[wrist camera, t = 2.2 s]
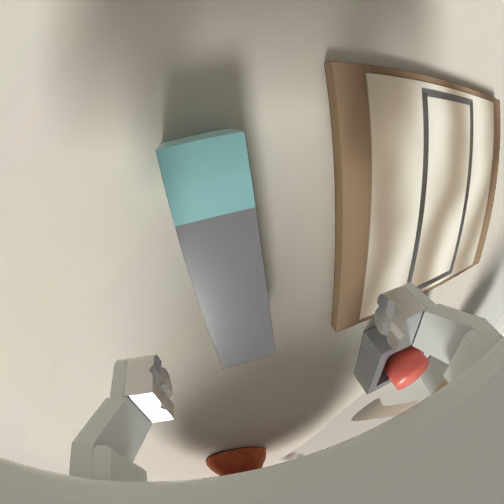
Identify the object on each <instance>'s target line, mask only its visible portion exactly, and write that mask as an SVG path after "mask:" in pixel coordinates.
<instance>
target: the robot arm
mask: <svg viewBox="0 0 504 504" xmlns="http://www.w3.org/2000/svg"><path fill="white" fill-rule="evenodd" d="M377 304H378V305H379V307H378V308H377V309H376V311H375V315H374V321H375V325H376V327H377V329H378V331H379V332H380V333H381V334H383V335H385V336H387V342H388V344H389V345H390V346H391V347H392V349H393V350H394V351H395V352H398V351H400V350H402V349H405V348H407V347H409V346H411V345H412V346H413V347H415V348H417V349H419V350H421V351H423V352H425V353H427V354H429V355H431V356H433V357H435V358H437V359H439V360H441V361H443V362H445V363H447V364H449V365H448V366H447V368H446V370H445V371H444V374H443V376H444V378H445V379H446V380H447V381H448V384H446V385H445V386H444V387H442V388H441V389H439V390H438V391H436V392H435V393H433V394H432V395H430V396H429V397H427V398H426V399H424V400H423V401H421V402H419V403H418V404H416V405H415V406H413V407H411V408H410V409H408V410H406V411H404V412H403V413H401V414H399V415H397V416H396V417H394V418H392V419H390V420H388V421H386V422H384V423H382V424H381V425H378V426H377V427H374V428H373V429H370V430H368V431H366V432H364V433H362V434H360V435H357V436H355V437H353V438H351V439H348V440H346V441H343V442H341V443H339V444H336V445H334V446H331V447H328V448H326V449H323V450H320V451H318V452H315V453H312V454H309V455H306V456H303V457H300V458H296V459H293V460H290V461H286V462H283V463H279V464H276V465H272V466H268V467H264V468H259V469H255V470H250V471H246V472H241V473H235V474H229V475H223V476H217V477H210V478H201V479H192V480H179V481H158V482H147V475H146V471H145V470H144V469H143V468H141V467H139V466H138V465H136V464H135V463H133V460H134V458H135V456H136V454H137V452H138V450H139V448H140V446H141V445H142V443H143V441H144V439H145V437H146V435H147V433H148V431H149V429H150V427H151V425H152V423H151V422H159V421H166V420H173V419H174V411H173V403H172V402H171V400H170V399H169V398H170V396H171V395H172V384H171V380H170V377H169V374H168V372H167V371H166V369H164V368H162V367H161V360H160V359H159V357H158V356H157V355H152V356H145V357H137V358H129V359H122V360H117V361H116V362H115V365H114V371H113V378H112V385H111V392H110V398H106V399H105V401H104V402H103V403H102V404H101V406H100V407H99V408H98V409H97V411H96V412H95V413H94V415H93V416H92V417H91V418H90V420H89V421H88V422H87V424H86V425H85V426H84V428H83V429H82V430H81V431H80V433H79V434H78V435H77V437H76V438H75V439H74V441H73V442H72V447H71V457H70V471H69V475H66V474H60V473H55V472H51V471H46V470H42V469H38V468H34V467H30V466H27V465H23V464H20V463H17V462H14V461H11V460H8V459H5V458H0V504H504V337H503V336H502V335H501V334H500V333H499V332H498V331H497V330H496V329H495V328H494V327H493V326H492V325H491V324H490V323H489V322H488V321H487V320H486V319H485V318H481V317H478V316H475V315H472V314H469V313H466V312H463V311H460V310H457V309H454V308H451V307H447V306H444V305H441V304H437V305H436V304H435V303H434V302H433V301H432V300H431V299H429V298H428V297H427V296H426V295H425V294H424V293H423V292H422V291H421V290H420V289H419V288H417V287H416V286H415V285H414V284H413V283H407V284H405V285H402V286H400V287H397V288H395V289H392V290H390V291H387V292H385V293H382V294H380V295H379V296H378V299H377Z"/></svg>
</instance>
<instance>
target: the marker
mask: <svg viewBox="0 0 504 504" xmlns="http://www.w3.org/2000/svg"><path fill="white" fill-rule="evenodd" d="M156 154H157V158H158V162H159V167H160V171H161V175H162V179H163V183H164V187H165V191H166V195H167V199H168V203H169V206H170V210H171V214H172V218H173V221H174V225H175V228H176V232H177V235H178V239H179V242H180V246H181V249H182V252H183V256H184V259H185V262H186V266H187V269H188V272H189V275H190V278H191V281H192V285H193V288H194V291H195V294H196V297H197V300H198V303H199V306H200V309H201V311H202V314H203V317H204V320H205V323H206V326H207V329H208V331H209V334H210V337H211V340H212V342H213V345H214V348H215V350H216V353H217V356H218V358H219V361H220V363H221V366H222V369H224V368H227V367H231V366H235V365H239V364H243V363H246V362H250V361H253V360H257V359H260V358H264V357H267V356H270V355H273V354H276V353H275V345H274V338H273V330H272V323H271V315H270V308H269V300H268V293H267V285H266V278H265V271H264V264H263V256H262V249H261V242H260V235H259V228H258V221H257V214H256V207H255V200H254V193H253V186H252V180H251V173H250V166H249V159H248V153H247V146H246V139H245V133H244V131H240V130H236V129H231V128H227V129H221V130H216V131H211V132H206V133H201V134H196V135H192V136H188V137H183V138H179V139H175V140H171V141H167V142H163V143H161V144H160V146H159V147H158V148H157V150H156Z"/></svg>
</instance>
